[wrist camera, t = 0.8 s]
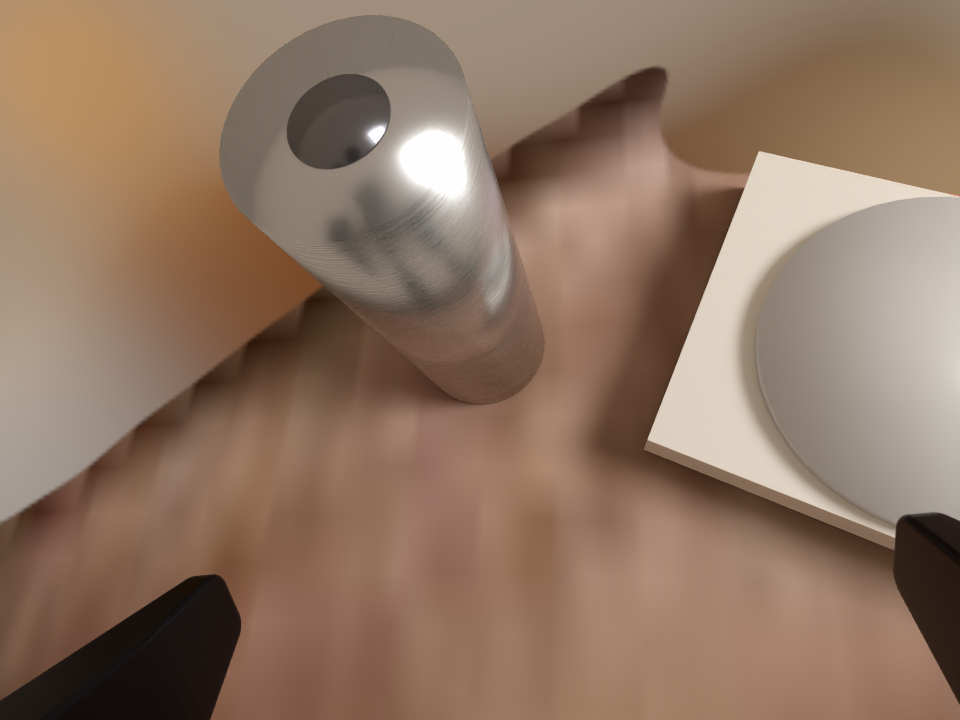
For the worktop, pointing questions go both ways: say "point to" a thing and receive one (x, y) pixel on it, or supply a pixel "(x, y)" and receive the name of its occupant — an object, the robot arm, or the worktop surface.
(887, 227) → the scale
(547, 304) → the worktop surface
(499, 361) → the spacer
